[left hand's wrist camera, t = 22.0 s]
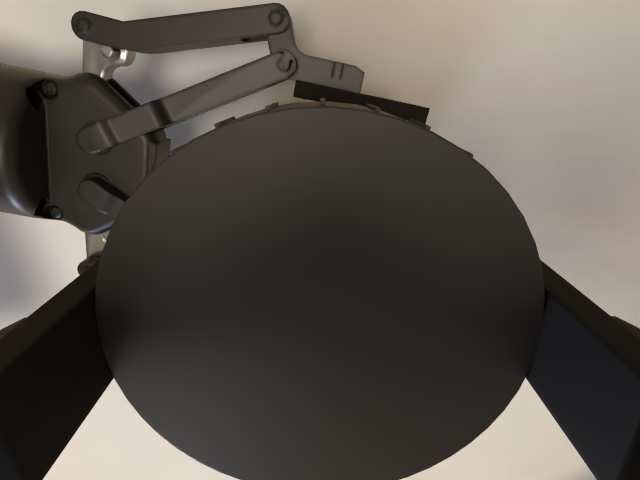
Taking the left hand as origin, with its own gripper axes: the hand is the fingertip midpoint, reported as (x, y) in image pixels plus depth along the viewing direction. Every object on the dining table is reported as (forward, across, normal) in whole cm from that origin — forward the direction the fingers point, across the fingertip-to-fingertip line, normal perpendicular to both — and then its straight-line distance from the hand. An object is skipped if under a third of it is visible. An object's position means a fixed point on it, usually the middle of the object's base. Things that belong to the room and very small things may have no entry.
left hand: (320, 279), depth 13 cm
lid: (-3, 0, 0) cm, 3 cm away
